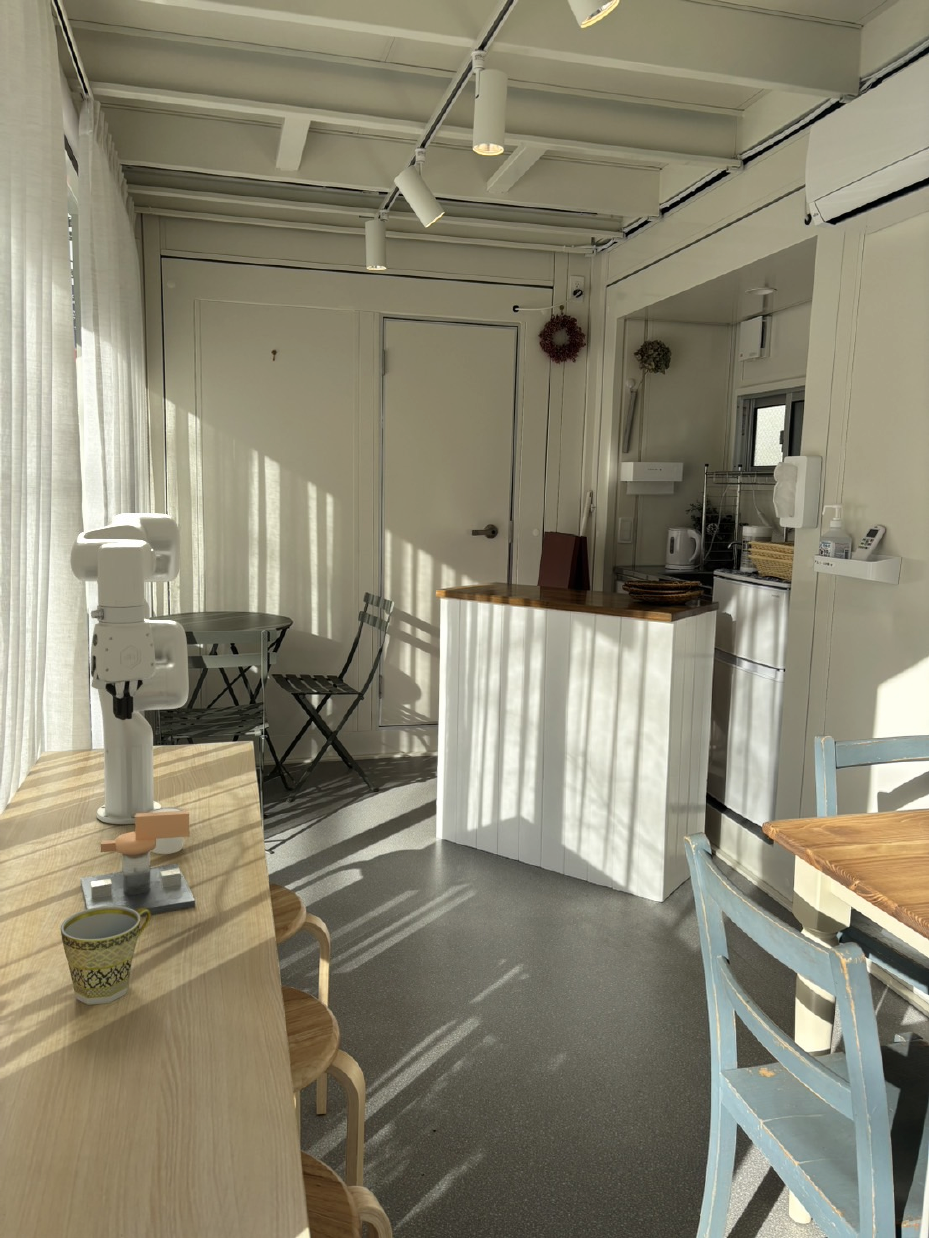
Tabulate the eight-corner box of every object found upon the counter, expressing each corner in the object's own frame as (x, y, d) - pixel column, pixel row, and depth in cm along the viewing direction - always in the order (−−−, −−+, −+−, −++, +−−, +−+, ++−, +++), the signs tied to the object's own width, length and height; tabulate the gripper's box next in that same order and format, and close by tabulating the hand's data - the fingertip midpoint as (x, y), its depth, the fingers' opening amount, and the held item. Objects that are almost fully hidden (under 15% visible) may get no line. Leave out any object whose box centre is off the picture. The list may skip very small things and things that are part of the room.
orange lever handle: (99, 858, 149) (98, 824, 148) (102, 843, 155) (102, 810, 154) (189, 851, 153) (189, 818, 152) (189, 837, 159) (189, 805, 158)
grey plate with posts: (80, 884, 158) (79, 838, 157) (177, 870, 166) (177, 826, 164) (89, 924, 144) (88, 874, 143) (195, 907, 151) (194, 859, 150)
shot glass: (174, 857, 171) (174, 820, 170) (140, 852, 173) (140, 816, 172) (192, 843, 178) (192, 808, 177) (159, 839, 179) (159, 804, 178)
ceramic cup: (94, 1020, 119) (92, 947, 118) (46, 996, 124) (44, 925, 123) (174, 977, 130) (173, 910, 129) (127, 956, 135) (126, 891, 134)
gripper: (89, 621, 153) (91, 729, 155) (172, 614, 164) (173, 715, 166) (69, 615, 158) (71, 720, 161) (150, 609, 169) (151, 707, 171)
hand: (123, 717), depth 163 cm, fingers closed
